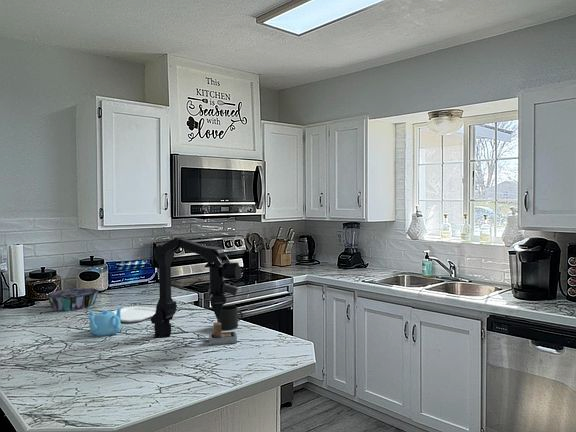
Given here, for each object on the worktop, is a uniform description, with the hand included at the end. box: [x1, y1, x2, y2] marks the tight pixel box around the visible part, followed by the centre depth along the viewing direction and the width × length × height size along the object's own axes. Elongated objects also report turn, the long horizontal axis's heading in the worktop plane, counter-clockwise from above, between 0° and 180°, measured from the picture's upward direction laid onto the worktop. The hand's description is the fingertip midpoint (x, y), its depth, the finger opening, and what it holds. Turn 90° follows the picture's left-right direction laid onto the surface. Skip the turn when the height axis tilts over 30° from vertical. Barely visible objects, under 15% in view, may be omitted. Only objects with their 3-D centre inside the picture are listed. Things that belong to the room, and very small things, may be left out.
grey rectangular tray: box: [208, 331, 238, 346], centre depth 193 cm, size 11×8×2 cm
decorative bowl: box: [46, 287, 100, 312], centre depth 260 cm, size 26×28×10 cm
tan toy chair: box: [213, 322, 231, 338], centre depth 193 cm, size 7×4×7 cm, turn 102°
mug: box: [216, 305, 244, 331], centre depth 214 cm, size 9×12×9 cm
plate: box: [111, 305, 156, 324], centre depth 237 cm, size 25×25×2 cm
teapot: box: [86, 305, 123, 337], centre depth 208 cm, size 15×15×10 cm
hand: (217, 315), depth 192 cm, fingers open, 9 cm apart
